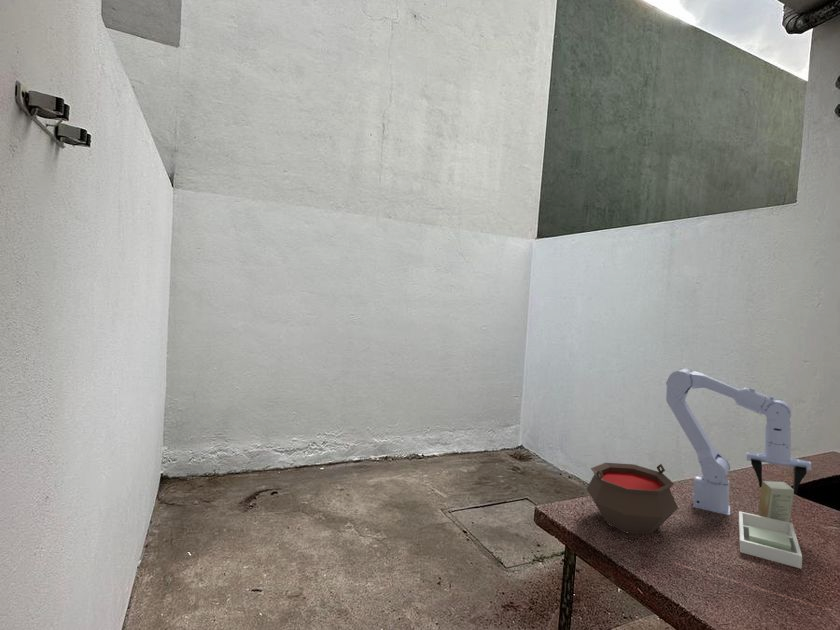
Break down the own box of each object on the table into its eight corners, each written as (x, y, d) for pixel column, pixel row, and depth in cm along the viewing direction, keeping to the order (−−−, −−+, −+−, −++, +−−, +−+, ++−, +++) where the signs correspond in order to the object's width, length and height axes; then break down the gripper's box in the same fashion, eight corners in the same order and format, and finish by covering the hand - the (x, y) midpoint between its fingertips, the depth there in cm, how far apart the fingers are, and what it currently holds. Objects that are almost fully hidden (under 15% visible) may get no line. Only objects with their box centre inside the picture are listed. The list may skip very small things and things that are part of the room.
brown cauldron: (623, 549, 114) (625, 486, 114) (568, 508, 137) (570, 455, 137) (698, 538, 121) (700, 478, 120) (633, 500, 144) (635, 450, 143)
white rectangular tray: (739, 553, 113) (740, 540, 113) (738, 522, 130) (738, 511, 130) (801, 570, 106) (802, 556, 106) (791, 535, 123) (792, 523, 123)
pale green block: (748, 550, 114) (749, 535, 114) (748, 540, 119) (748, 526, 119) (790, 561, 109) (791, 546, 109) (787, 550, 114) (788, 535, 114)
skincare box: (778, 519, 131) (785, 481, 129) (789, 528, 127) (795, 489, 125) (755, 517, 132) (761, 479, 129) (765, 527, 127) (771, 488, 125)
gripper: (809, 443, 128) (809, 490, 128) (746, 435, 136) (746, 479, 136) (812, 449, 122) (812, 499, 122) (746, 440, 130) (746, 486, 130)
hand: (777, 489), depth 129 cm, fingers open, 7 cm apart
